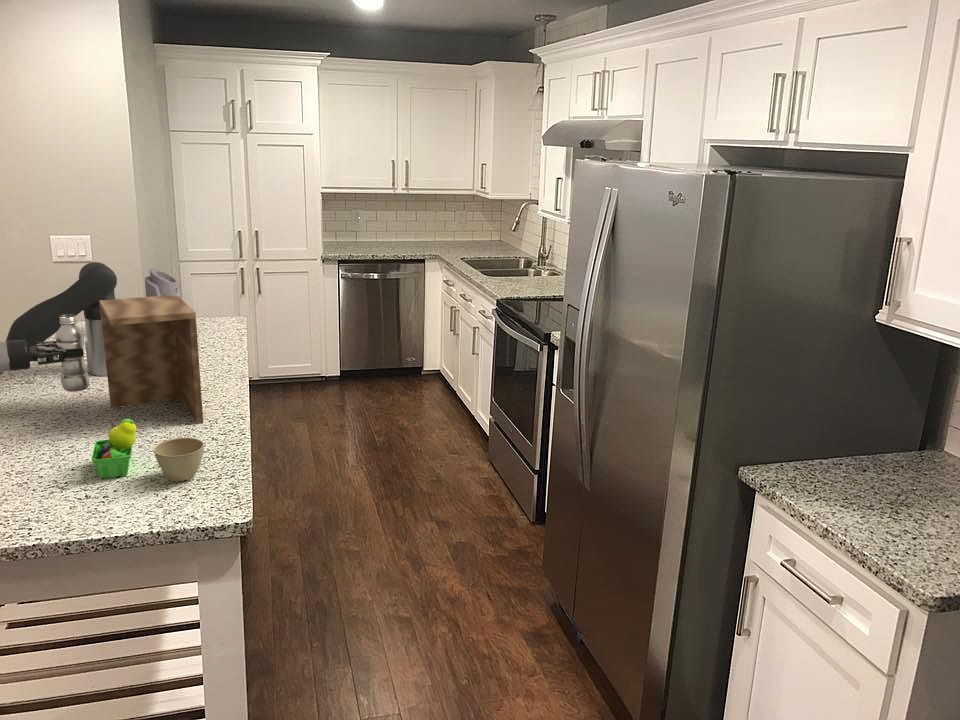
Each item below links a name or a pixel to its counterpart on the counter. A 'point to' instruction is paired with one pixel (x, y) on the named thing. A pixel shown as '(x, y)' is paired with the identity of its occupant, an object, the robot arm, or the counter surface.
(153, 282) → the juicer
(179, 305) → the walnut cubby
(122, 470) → the fruit basket
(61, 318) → the plastic bottle
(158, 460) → the flower pot
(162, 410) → the counter surface
